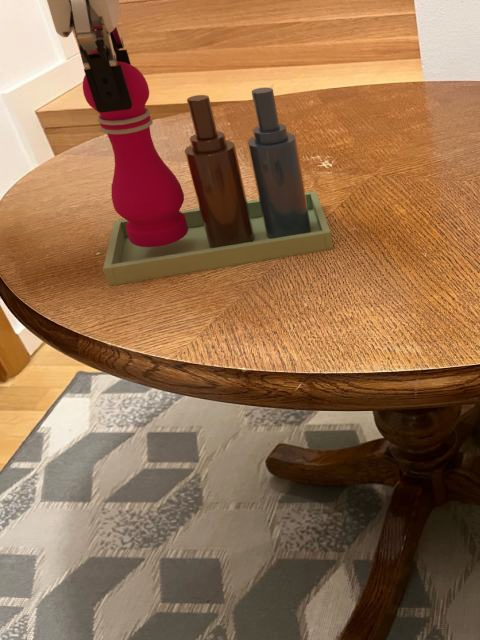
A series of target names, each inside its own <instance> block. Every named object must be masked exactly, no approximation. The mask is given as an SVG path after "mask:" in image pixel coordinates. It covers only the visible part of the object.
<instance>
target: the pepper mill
mask: <svg viewBox="0 0 480 640" xmlns="http://www.w3.org/2000/svg"><path fill="white" fill-rule="evenodd" d="M104 48H105V46H104ZM114 53H115V51H114ZM115 57H116V53H115ZM117 65H121V67H122V70H123V73H124V77H125V80H126V84H127V87H128V91H129V94H130V98H131V101H132V108H131V109H129V110H120V111H112V112H103V113H101V112H98V111H97V109H96V106H95V103H94V100H93V97H92V94H91V90H90V87H89V84H88V81H87V78H86V75H85V74H84V77H83V80H82V92H83V96H84V99H85V101H86V103H87V104H88V105H89V106H90V108H92V109H93V110H95V111H96V112H97V113H98V114H99V115H98V117H97V122H98V123H99V125H100V127H99V128H100V131H101V132H102V133H104V134H106V135H107V137H108V139H109V142H110V144H111V148H112V151H113V155H114V169H113V170H114V171H113V176H112V183H111V202H112V205H113V208H114V211H115V212H116V213H117V214H118V216H120V217H121V218H122V219H126V220H127V221H128V223H127V224H126V230H127V233H128V237H129V240H130V242H131V243H132V244H134V245H136V246H140V247H158V246H163V245H167V244H170V243H173V242H176V241H178V240H180V239H181V238H183V237H184V236H185V235H186V234H187V232H188V226H187V222H186V218H185V215H184V214H183V213H182V212H180V211H181V208H182V206H183V204H184V202H185V194H184V191H183V188H182V185H181V183H180V181H179V179H178V178H177V176H176V175H175V174H174V172H173V171H172V170H171V169H170V167H168V165H166V163H165V162H164V161H163V159H162V158H161V156H160V154H159V153H158V151H157V149H156V147H155V144H154V141H153V138H152V134H151V126H152V125H153V122H154V121H153V119H152V118H151V110H150V109H148V108H147V107H146V104H147V102H148V100H149V98H150V89H149V85H148V81H147V79H146V78H145V76H144V75H143V73H142V72H141V71H140V70H139V69H138V68H137V67H135V65H132V64H131V65H130V64H128V63H125V62H120V61H117Z"/></svg>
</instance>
